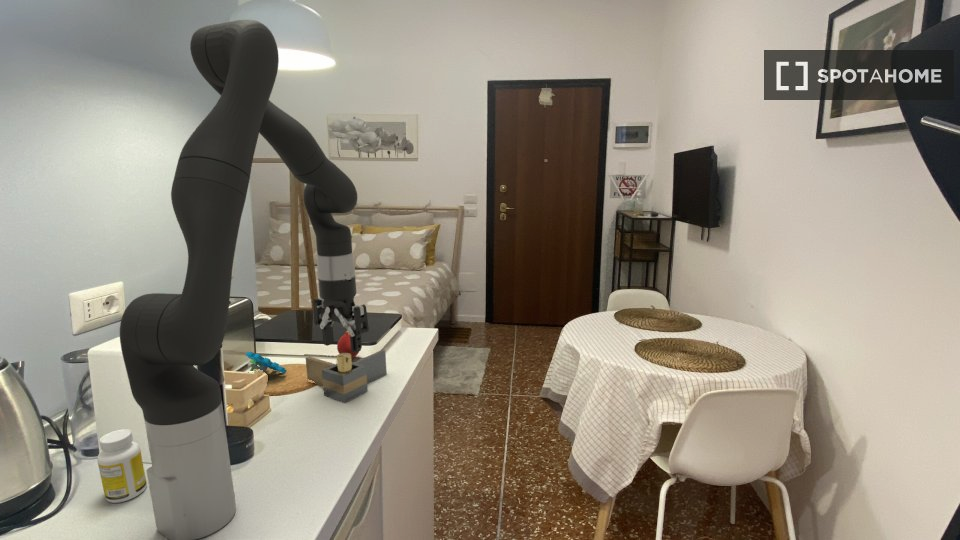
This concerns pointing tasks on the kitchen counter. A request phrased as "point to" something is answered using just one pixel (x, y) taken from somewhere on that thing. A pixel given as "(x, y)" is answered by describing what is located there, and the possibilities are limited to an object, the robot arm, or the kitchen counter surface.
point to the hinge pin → (344, 362)
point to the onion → (345, 345)
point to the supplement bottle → (121, 466)
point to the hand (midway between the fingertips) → (342, 348)
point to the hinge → (346, 376)
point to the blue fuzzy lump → (263, 363)
